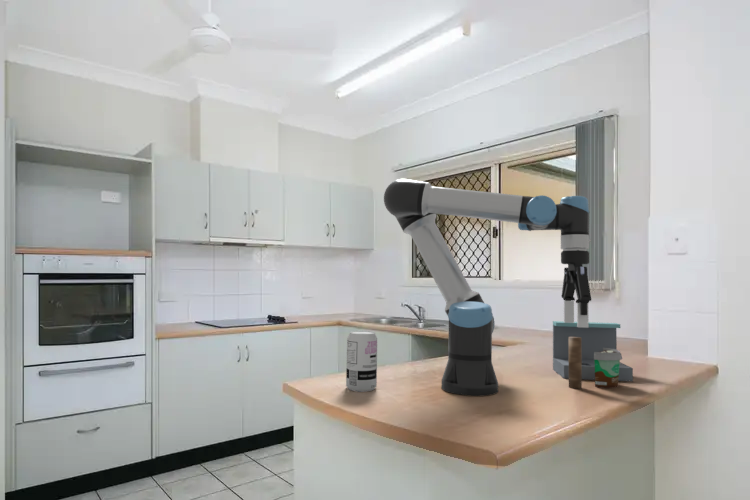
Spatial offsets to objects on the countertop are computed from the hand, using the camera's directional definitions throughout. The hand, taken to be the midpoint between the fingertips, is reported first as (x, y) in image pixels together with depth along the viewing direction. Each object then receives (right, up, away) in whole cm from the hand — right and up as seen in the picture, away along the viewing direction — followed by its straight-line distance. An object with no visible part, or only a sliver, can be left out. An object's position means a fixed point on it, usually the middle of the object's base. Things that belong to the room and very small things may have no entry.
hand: (575, 325), depth 137 cm
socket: (+12, -19, +17) cm, 28 cm away
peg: (-1, -18, -1) cm, 18 cm away
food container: (+11, -18, +2) cm, 21 cm away
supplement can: (-61, -16, -7) cm, 63 cm away
